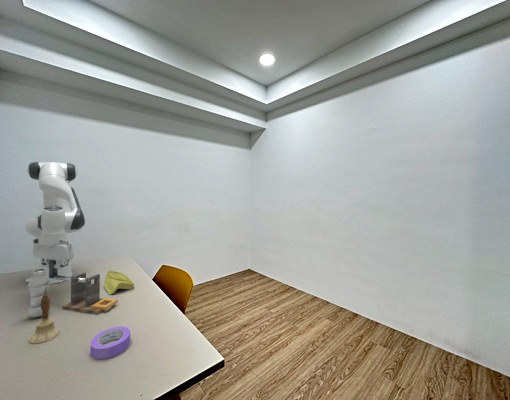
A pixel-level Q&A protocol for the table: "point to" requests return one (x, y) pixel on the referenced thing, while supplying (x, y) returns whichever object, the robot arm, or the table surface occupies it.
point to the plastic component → (117, 282)
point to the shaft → (54, 275)
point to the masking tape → (114, 348)
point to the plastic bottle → (37, 292)
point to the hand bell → (44, 324)
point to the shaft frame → (84, 295)
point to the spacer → (105, 300)
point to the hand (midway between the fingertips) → (53, 267)
